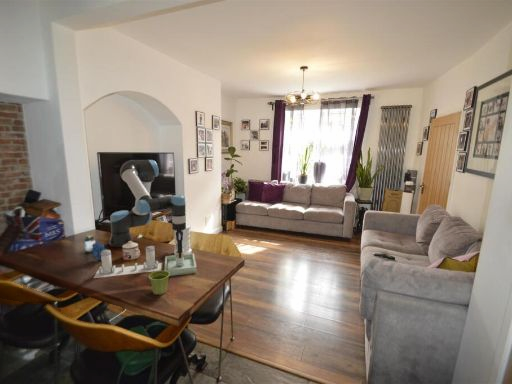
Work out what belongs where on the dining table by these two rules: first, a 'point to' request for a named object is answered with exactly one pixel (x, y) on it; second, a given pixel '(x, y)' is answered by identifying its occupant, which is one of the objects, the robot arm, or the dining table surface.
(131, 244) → the teacup with lid
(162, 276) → the plant pot
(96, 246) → the grapes
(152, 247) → the block
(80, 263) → the dining table surface
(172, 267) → the tray
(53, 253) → the dining table surface
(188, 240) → the decorative container
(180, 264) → the cylinder
